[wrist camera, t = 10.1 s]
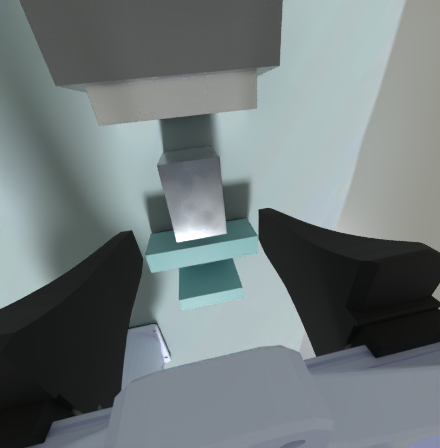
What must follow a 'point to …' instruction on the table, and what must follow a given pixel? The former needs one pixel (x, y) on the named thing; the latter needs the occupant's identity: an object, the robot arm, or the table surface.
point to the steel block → (193, 192)
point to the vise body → (158, 53)
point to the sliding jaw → (204, 263)
